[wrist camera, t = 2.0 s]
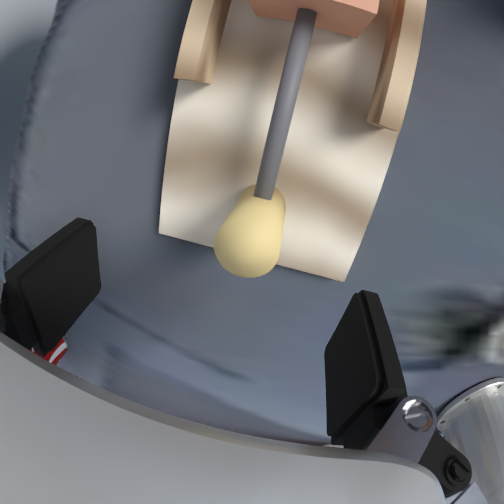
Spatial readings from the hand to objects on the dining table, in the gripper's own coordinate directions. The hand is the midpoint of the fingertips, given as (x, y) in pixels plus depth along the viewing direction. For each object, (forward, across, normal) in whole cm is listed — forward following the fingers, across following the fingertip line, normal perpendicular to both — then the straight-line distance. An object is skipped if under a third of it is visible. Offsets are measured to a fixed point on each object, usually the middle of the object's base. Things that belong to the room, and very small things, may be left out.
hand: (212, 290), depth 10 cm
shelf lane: (+11, -1, -8) cm, 14 cm away
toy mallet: (+10, -1, -8) cm, 13 cm away
